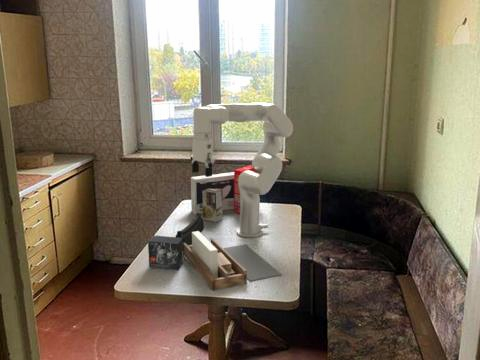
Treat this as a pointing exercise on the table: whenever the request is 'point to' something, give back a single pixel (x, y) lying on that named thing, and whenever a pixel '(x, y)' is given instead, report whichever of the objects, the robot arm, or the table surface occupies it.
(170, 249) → the small box
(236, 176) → the food packaging
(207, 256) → the cream rectangular panel
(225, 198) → the packaging
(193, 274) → the table surface
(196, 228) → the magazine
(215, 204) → the coffee box
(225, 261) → the offcut short
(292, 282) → the table surface
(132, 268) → the table surface
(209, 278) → the rack
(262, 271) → the mat
